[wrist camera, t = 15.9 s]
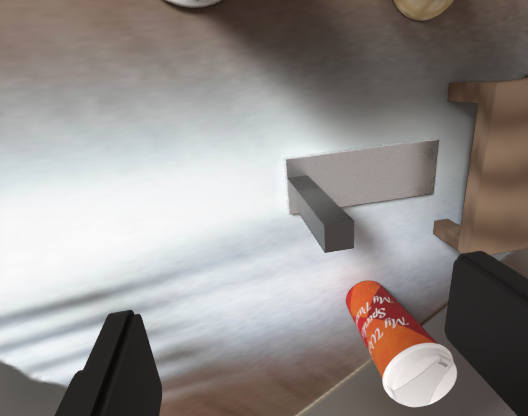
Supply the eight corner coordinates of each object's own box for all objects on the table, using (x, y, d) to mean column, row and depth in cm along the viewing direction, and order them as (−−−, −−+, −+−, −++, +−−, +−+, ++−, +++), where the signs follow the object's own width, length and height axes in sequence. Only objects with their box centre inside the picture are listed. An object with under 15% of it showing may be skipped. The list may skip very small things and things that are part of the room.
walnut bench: (449, 83, 39) (496, 83, 32) (540, 73, 40) (603, 71, 33) (433, 233, 46) (469, 258, 40) (510, 221, 47) (557, 243, 41)
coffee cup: (361, 264, 46) (424, 342, 32) (401, 287, 49) (476, 368, 35) (326, 308, 48) (373, 399, 34) (367, 327, 51) (426, 420, 37)
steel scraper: (283, 157, 39) (323, 199, 25) (432, 138, 41) (547, 167, 27) (287, 210, 42) (325, 275, 28) (427, 190, 44) (529, 241, 30)
